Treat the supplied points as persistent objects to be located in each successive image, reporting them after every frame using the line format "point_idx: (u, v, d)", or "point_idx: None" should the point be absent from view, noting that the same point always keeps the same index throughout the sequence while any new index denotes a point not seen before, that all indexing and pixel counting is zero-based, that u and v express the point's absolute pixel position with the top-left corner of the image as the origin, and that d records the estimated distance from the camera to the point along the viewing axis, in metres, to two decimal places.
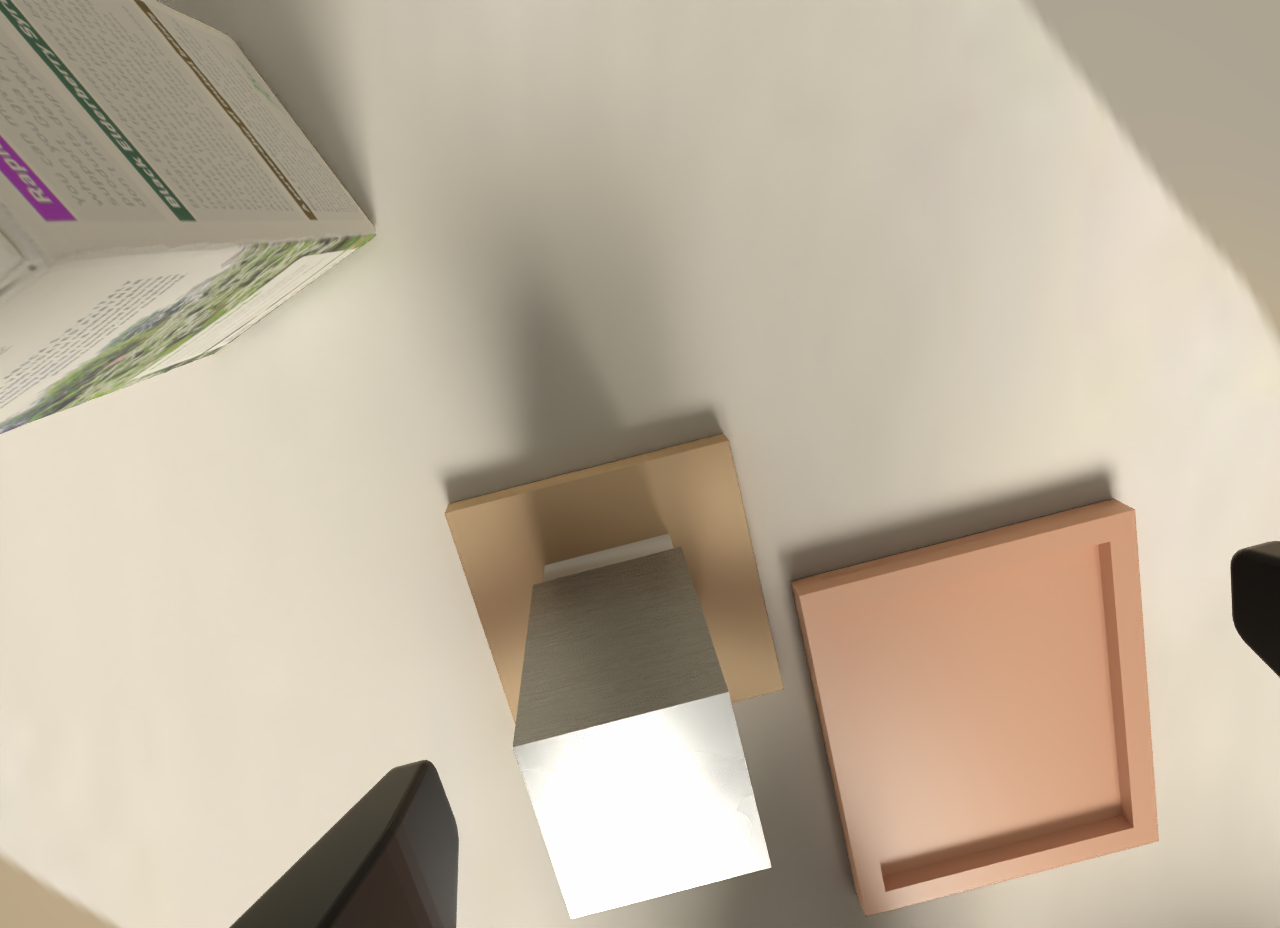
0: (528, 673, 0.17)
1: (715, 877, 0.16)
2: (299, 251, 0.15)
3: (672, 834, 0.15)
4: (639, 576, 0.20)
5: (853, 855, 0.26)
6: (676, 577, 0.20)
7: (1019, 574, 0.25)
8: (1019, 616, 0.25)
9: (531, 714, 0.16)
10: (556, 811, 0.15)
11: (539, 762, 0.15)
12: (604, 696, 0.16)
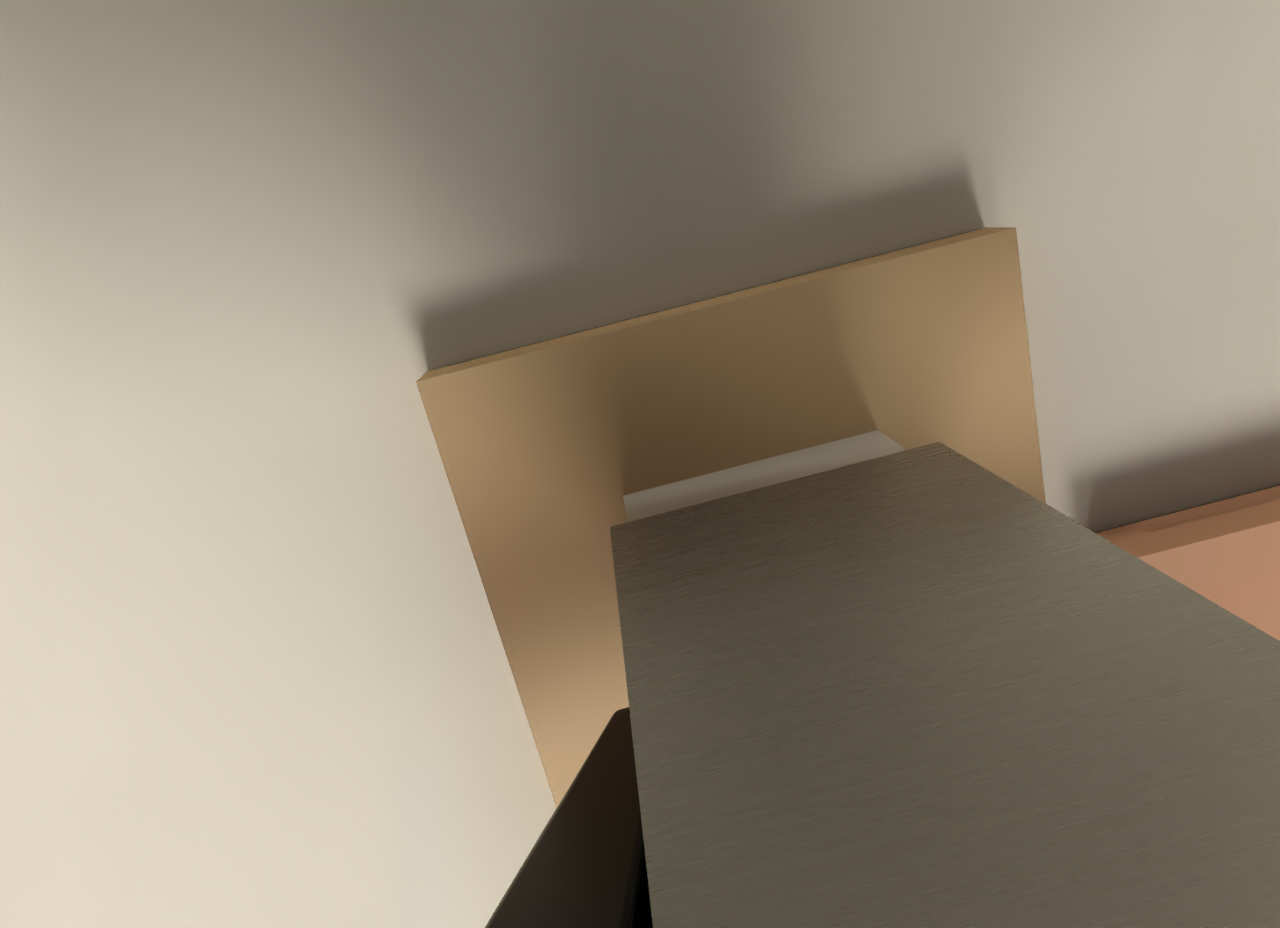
0: (657, 764, 0.05)
1: None
2: None
3: None
4: (874, 499, 0.08)
5: None
6: (982, 496, 0.08)
7: None
8: None
9: None
10: None
11: None
12: (1028, 900, 0.04)
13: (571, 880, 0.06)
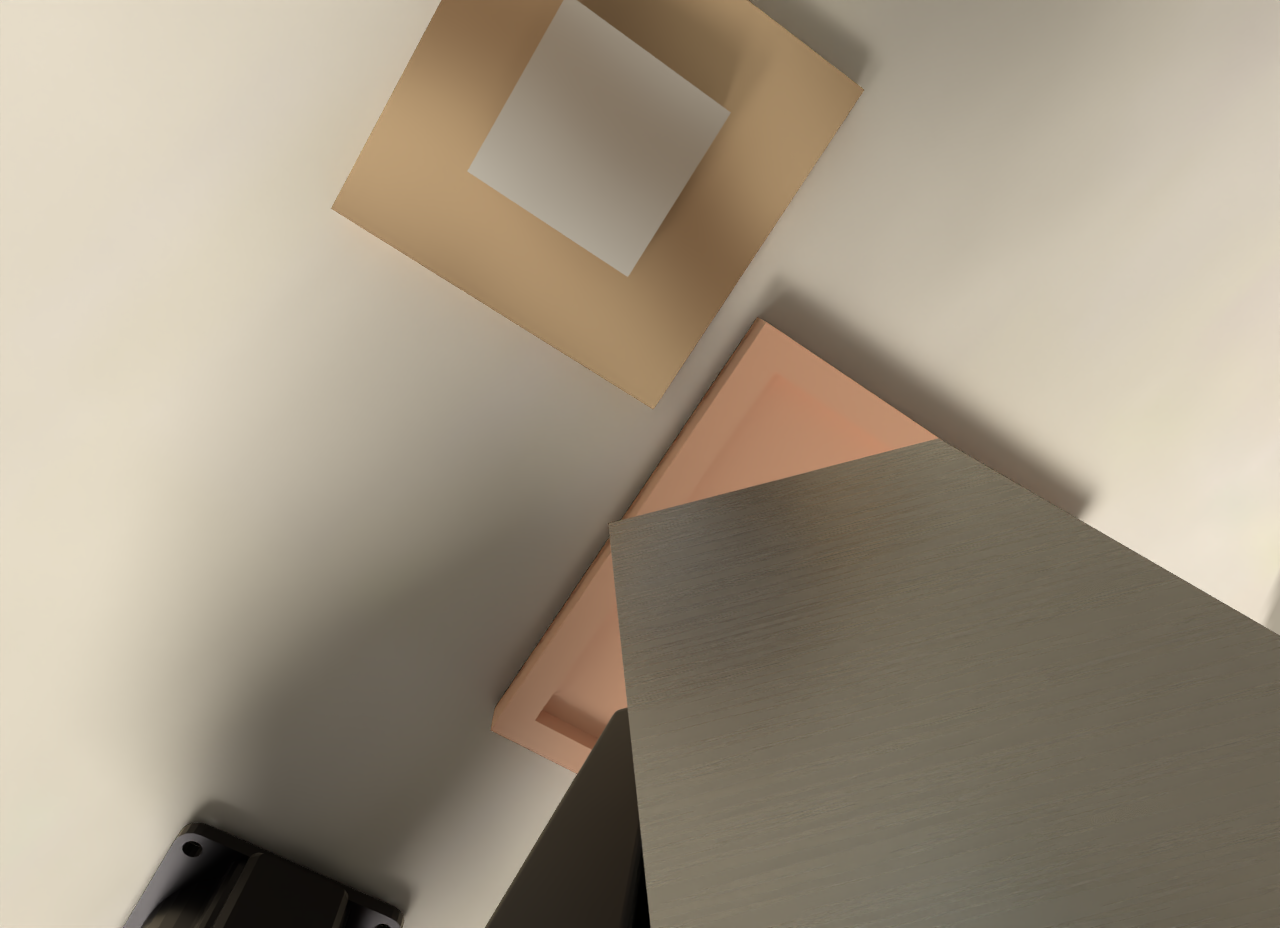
0: (655, 759, 0.05)
1: None
2: None
3: None
4: (873, 495, 0.08)
5: (543, 652, 0.20)
6: (982, 492, 0.08)
7: None
8: None
9: None
10: None
11: None
12: (1026, 892, 0.04)
13: (571, 880, 0.06)
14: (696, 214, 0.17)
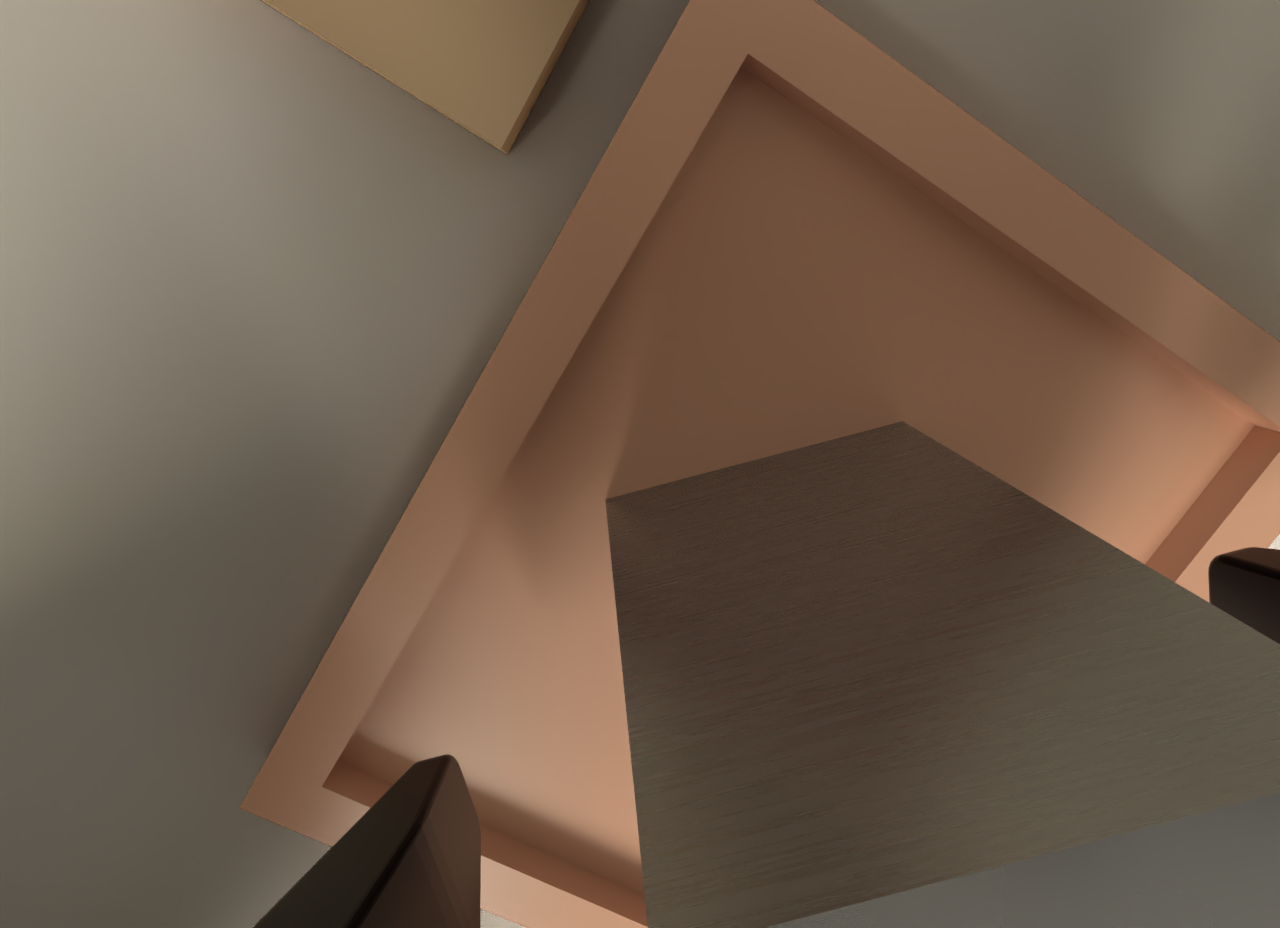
0: (642, 679, 0.06)
1: None
2: None
3: None
4: (840, 470, 0.10)
5: (324, 657, 0.10)
6: (934, 465, 0.09)
7: (1086, 375, 0.11)
8: (1013, 458, 0.11)
9: (685, 812, 0.05)
10: None
11: None
12: (924, 755, 0.05)
13: None
14: None
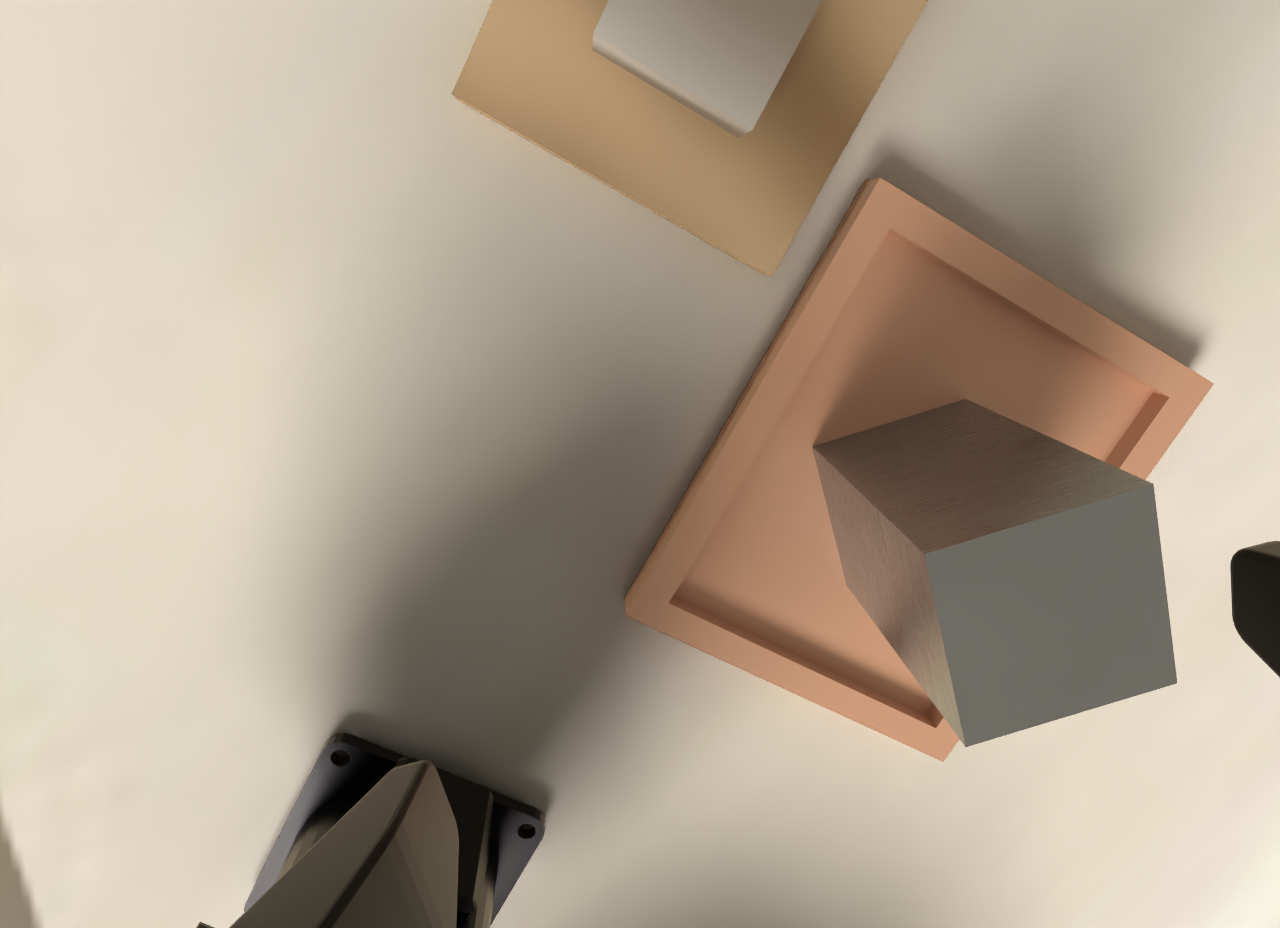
0: (881, 503, 0.16)
1: (1118, 696, 0.15)
2: None
3: (1079, 649, 0.15)
4: (938, 424, 0.19)
5: (674, 532, 0.20)
6: (986, 419, 0.19)
7: (1061, 370, 0.20)
8: (1024, 415, 0.21)
9: (919, 529, 0.15)
10: (961, 626, 0.14)
11: (950, 570, 0.14)
12: (997, 506, 0.15)
13: None
14: (806, 73, 0.18)
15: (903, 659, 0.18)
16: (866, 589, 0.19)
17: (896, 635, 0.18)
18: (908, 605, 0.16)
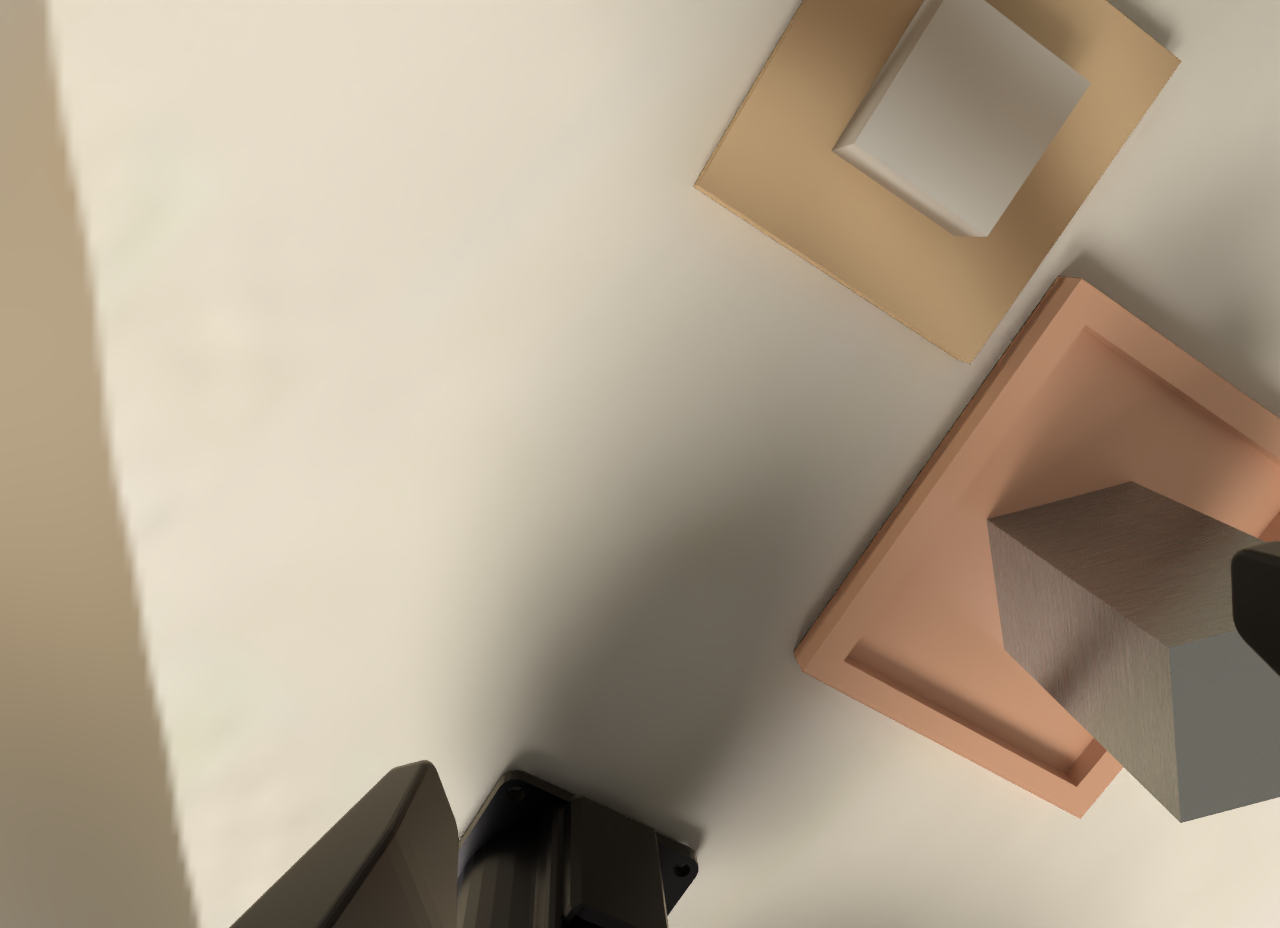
0: (1094, 589, 0.17)
1: None
2: None
3: None
4: (1115, 507, 0.21)
5: (856, 595, 0.21)
6: (1165, 506, 0.20)
7: (1222, 459, 0.22)
8: (1184, 499, 0.22)
9: (1150, 620, 0.16)
10: (1192, 713, 0.16)
11: (1189, 663, 0.15)
12: (1223, 603, 0.16)
13: None
14: None
15: (1090, 730, 0.19)
16: (1043, 659, 0.21)
17: (1085, 708, 0.19)
18: (1120, 686, 0.17)
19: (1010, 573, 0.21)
